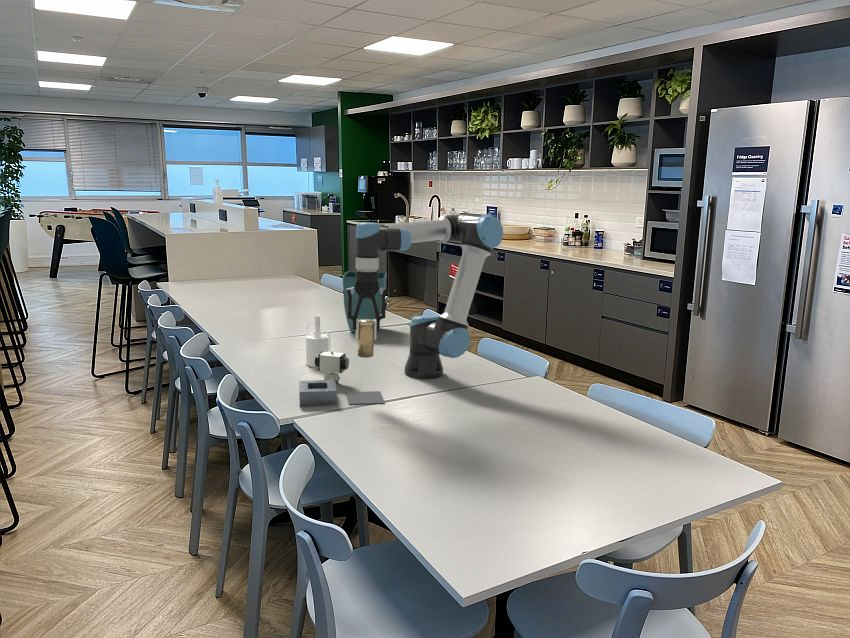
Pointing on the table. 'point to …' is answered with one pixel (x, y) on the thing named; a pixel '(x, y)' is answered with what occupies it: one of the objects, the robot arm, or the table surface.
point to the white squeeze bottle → (316, 343)
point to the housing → (317, 393)
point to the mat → (365, 398)
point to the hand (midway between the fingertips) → (365, 338)
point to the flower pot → (366, 305)
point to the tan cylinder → (366, 338)
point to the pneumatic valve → (332, 364)
